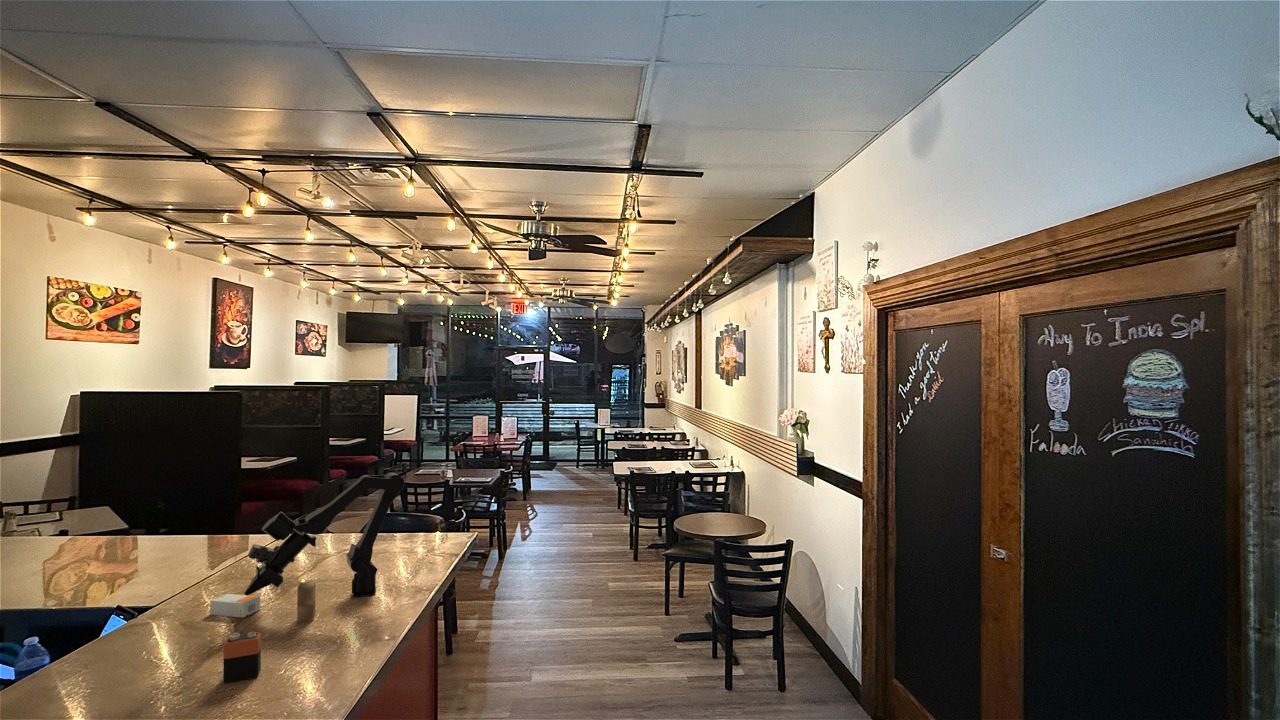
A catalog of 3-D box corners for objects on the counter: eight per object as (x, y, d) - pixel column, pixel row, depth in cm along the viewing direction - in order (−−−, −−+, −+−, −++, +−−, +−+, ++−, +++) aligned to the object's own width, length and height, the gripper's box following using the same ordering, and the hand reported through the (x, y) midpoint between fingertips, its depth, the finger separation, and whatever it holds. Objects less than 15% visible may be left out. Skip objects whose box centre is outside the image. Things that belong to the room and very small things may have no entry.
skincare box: (243, 603, 174) (209, 600, 176) (243, 617, 174) (209, 615, 176) (260, 595, 180) (227, 593, 182) (260, 609, 179) (227, 607, 182)
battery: (227, 675, 140) (227, 632, 140) (261, 669, 143) (261, 627, 143) (222, 684, 136) (223, 640, 136) (257, 678, 139) (258, 635, 139)
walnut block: (315, 615, 175) (315, 581, 175) (312, 621, 171) (313, 586, 171) (299, 617, 174) (300, 583, 174) (297, 623, 170) (297, 587, 170)
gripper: (265, 527, 185) (221, 570, 179) (270, 540, 170) (222, 588, 164) (293, 548, 190) (252, 591, 183) (301, 563, 175) (256, 610, 168)
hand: (245, 594), depth 174 cm, fingers closed
